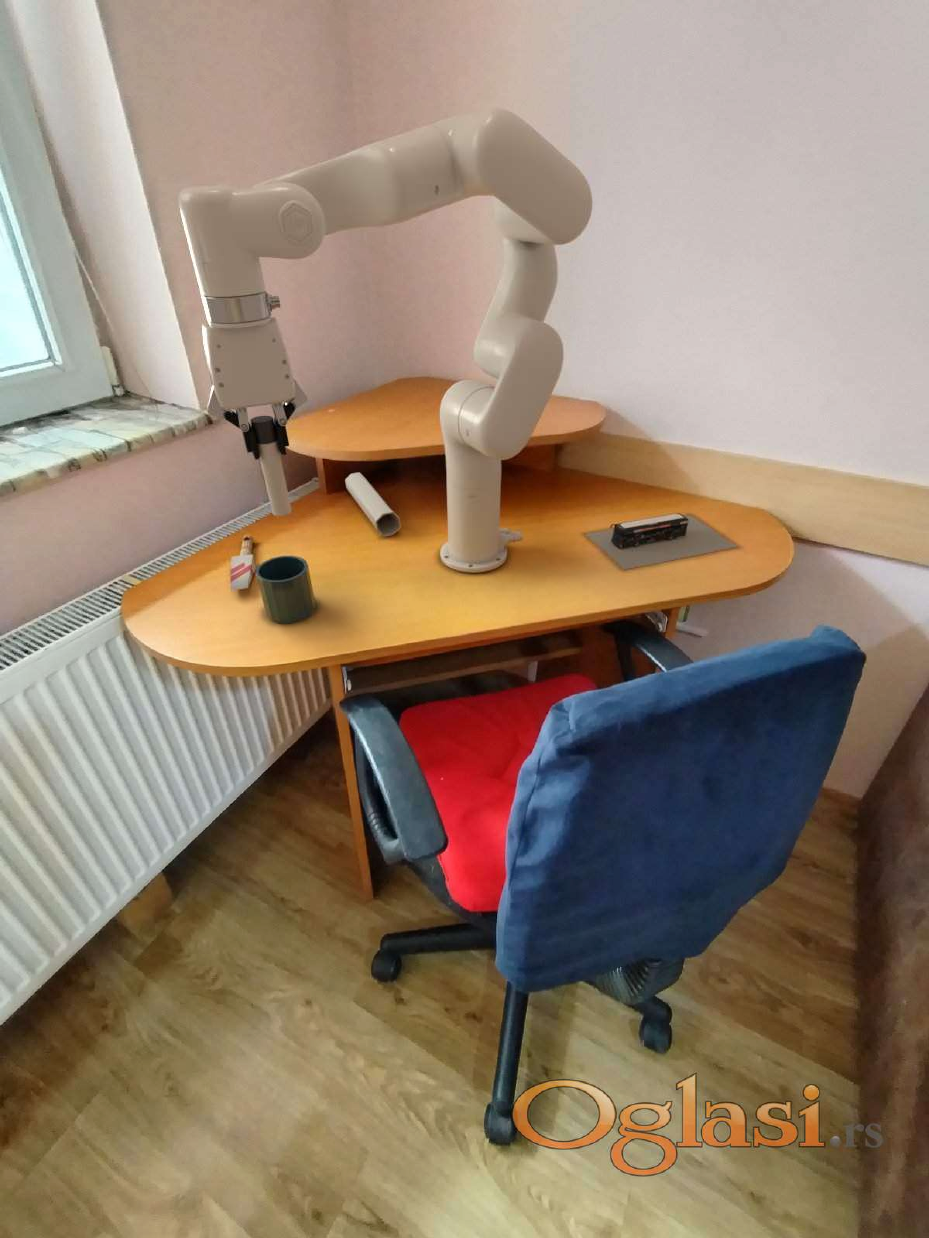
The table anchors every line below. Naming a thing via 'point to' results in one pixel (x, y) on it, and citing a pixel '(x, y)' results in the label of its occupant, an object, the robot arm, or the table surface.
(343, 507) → the table surface
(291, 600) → the pen holder
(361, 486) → the tube
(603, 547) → the gray base plate
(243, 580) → the paintbrush
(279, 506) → the marker
